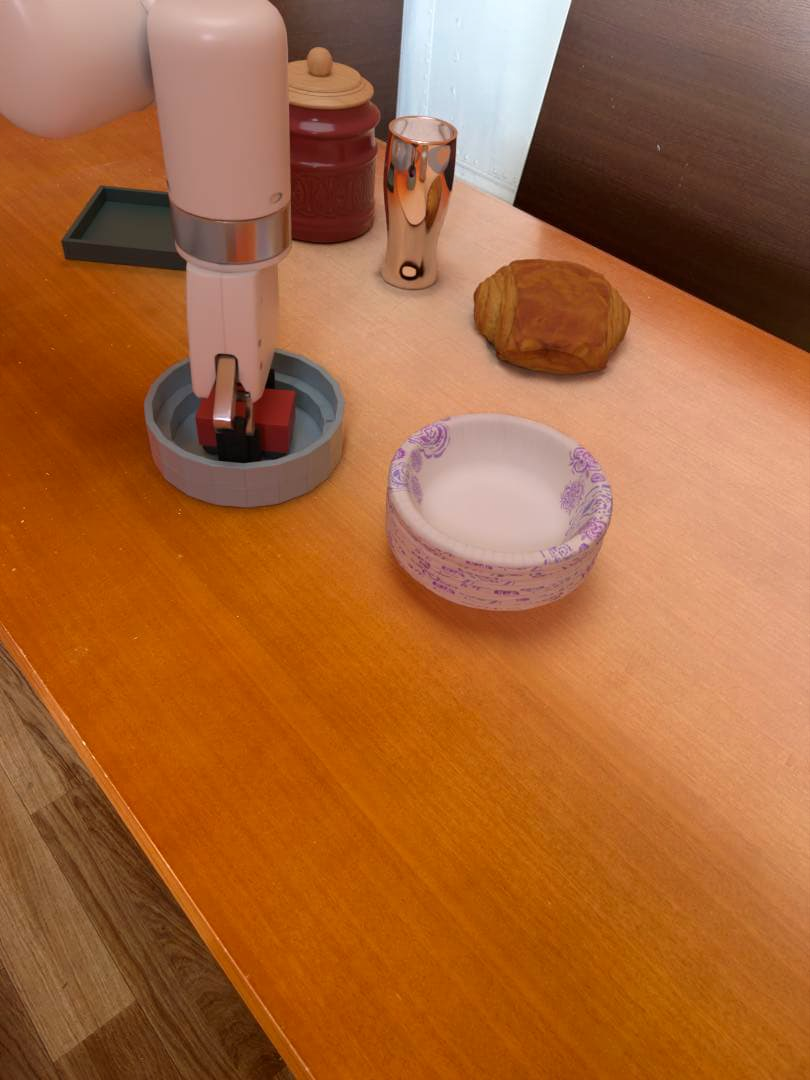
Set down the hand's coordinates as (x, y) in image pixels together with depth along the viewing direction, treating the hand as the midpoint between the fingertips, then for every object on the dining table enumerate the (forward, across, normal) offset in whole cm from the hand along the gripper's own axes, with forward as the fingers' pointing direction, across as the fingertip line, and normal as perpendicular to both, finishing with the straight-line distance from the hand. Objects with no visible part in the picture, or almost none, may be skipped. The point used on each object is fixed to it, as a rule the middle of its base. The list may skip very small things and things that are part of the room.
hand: (248, 435), depth 64 cm
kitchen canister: (+1, -41, +1) cm, 41 cm away
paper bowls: (+1, +10, +19) cm, 22 cm away
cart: (+1, 0, 0) cm, 1 cm away
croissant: (+1, -20, +26) cm, 33 cm away
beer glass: (+1, -30, +12) cm, 32 cm away
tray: (+1, -33, -16) cm, 37 cm away
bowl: (+1, 0, 0) cm, 1 cm away
